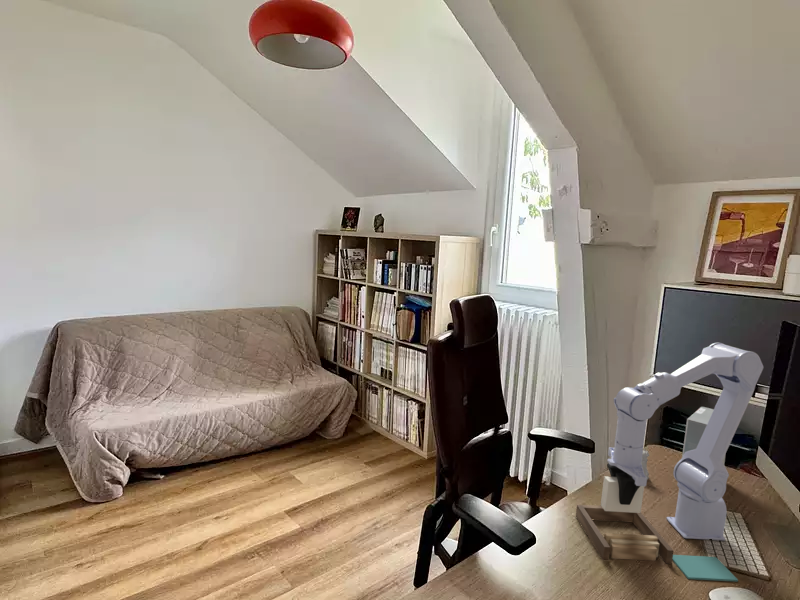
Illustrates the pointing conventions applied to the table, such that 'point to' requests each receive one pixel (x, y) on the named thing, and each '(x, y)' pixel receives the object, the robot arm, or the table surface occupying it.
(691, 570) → the teal mat
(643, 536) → the offcut stack
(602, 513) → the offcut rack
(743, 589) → the table surface
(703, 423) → the hard drive box
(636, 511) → the off-white rectangular block
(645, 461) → the rook chess piece
